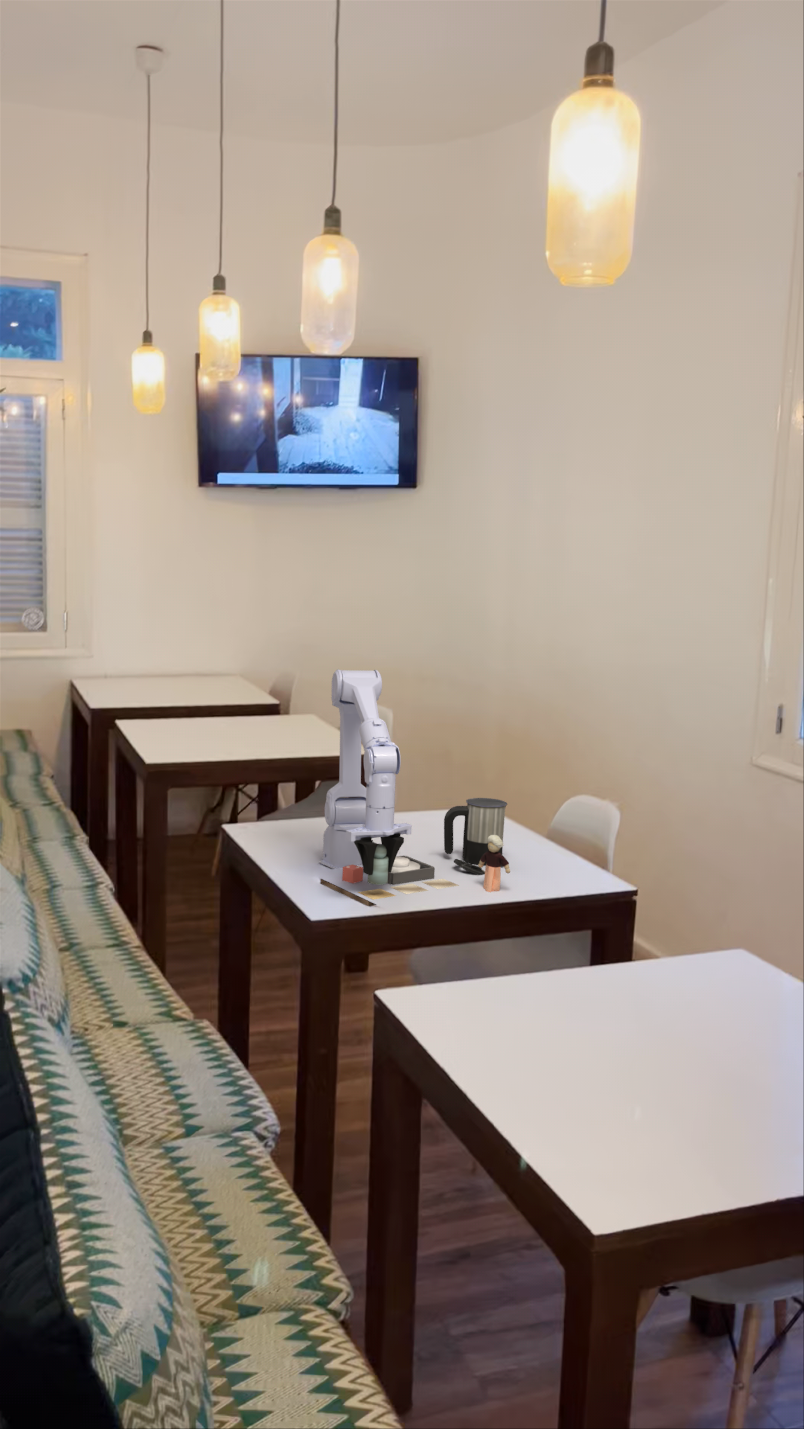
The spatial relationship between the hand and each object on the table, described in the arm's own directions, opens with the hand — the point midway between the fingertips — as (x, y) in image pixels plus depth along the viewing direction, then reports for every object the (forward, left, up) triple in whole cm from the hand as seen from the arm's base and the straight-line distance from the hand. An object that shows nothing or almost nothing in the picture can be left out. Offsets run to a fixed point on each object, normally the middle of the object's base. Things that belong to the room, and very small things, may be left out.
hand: (377, 872), depth 238 cm
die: (-11, +1, -6) cm, 12 cm away
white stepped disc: (-10, +12, -4) cm, 16 cm away
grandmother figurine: (+8, +23, -6) cm, 25 cm away
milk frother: (-8, +33, -6) cm, 34 cm away
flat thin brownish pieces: (-6, +8, -6) cm, 11 cm away
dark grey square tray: (-10, +12, -6) cm, 16 cm away
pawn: (0, 0, -2) cm, 2 cm away
